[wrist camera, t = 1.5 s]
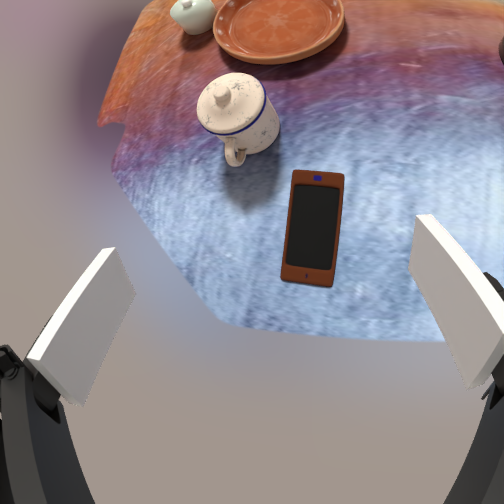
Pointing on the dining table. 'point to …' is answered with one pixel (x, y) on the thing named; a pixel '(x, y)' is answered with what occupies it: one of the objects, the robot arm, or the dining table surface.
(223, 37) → the saucer
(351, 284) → the dining table surface
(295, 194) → the smartphone
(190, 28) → the sugar bowl
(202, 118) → the teacup with lid
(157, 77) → the dining table surface
